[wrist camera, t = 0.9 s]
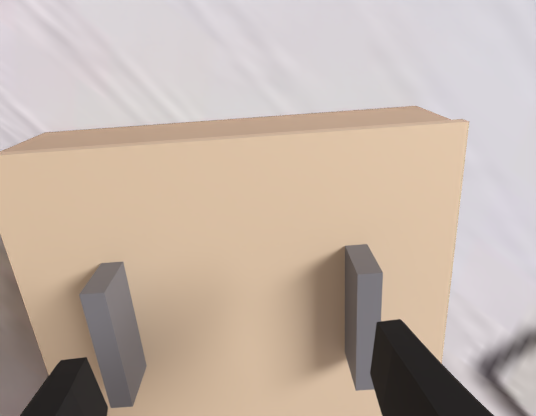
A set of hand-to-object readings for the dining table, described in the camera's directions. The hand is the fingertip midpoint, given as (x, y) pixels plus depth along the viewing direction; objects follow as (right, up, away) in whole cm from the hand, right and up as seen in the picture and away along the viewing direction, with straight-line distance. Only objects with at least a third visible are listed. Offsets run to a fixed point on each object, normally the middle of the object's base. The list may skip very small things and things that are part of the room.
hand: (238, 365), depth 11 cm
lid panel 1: (-6, -1, +10) cm, 11 cm away
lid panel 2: (+4, 0, +10) cm, 11 cm away
